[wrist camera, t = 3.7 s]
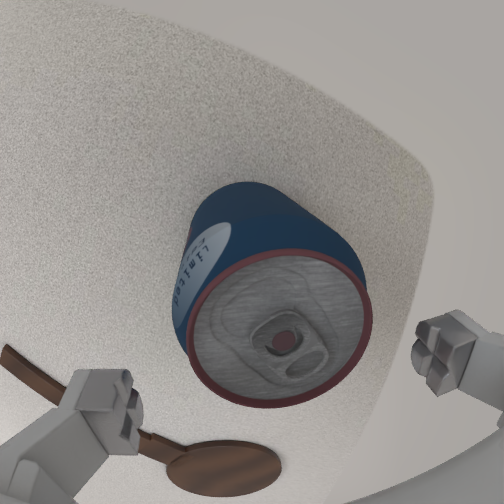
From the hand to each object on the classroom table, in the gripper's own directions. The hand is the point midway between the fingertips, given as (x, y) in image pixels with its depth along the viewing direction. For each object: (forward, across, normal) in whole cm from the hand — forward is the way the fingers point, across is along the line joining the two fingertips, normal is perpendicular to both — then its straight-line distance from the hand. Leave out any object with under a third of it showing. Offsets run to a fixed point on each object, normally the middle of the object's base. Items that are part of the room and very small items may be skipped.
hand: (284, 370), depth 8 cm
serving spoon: (+13, +12, +20) cm, 27 cm away
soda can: (+13, 0, 0) cm, 13 cm away
